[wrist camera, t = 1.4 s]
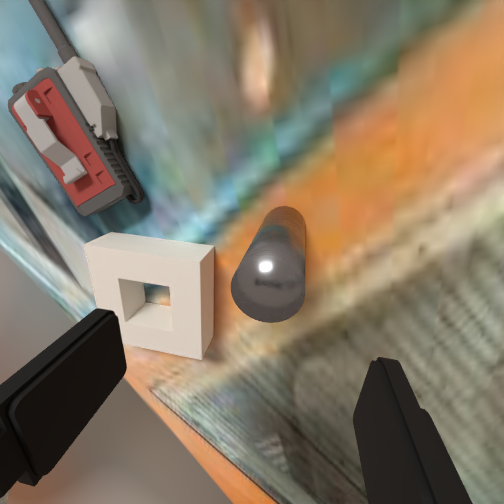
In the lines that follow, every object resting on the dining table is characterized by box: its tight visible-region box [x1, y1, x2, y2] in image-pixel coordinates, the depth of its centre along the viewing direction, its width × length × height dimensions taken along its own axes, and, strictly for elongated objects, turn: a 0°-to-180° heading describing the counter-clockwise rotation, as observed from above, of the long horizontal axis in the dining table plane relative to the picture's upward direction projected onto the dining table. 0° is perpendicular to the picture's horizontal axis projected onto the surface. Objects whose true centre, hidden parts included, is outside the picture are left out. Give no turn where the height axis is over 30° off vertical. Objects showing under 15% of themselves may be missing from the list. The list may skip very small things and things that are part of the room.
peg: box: [231, 206, 305, 323], centre depth 19 cm, size 4×4×12 cm
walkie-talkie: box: [8, 0, 144, 217], centre depth 23 cm, size 9×4×20 cm
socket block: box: [84, 232, 214, 360], centre depth 28 cm, size 12×12×4 cm
